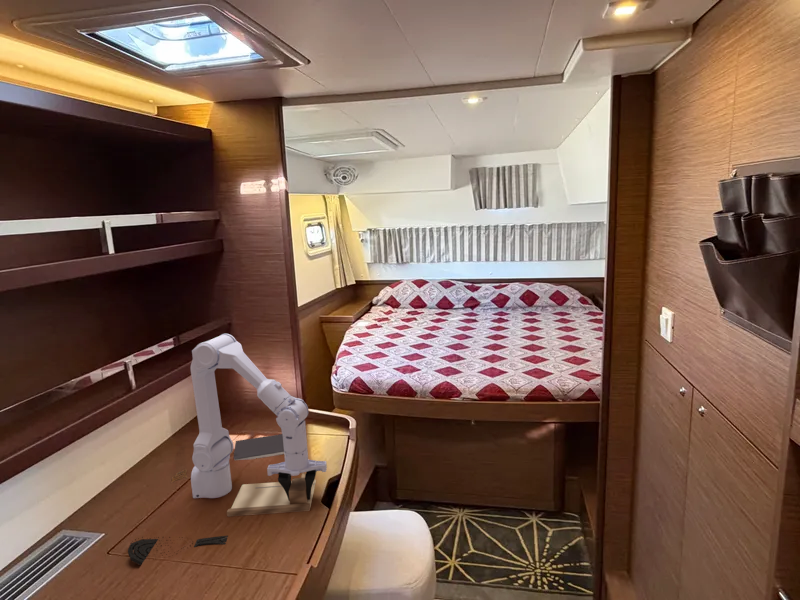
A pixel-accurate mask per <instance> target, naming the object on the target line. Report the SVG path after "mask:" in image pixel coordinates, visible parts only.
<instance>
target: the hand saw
mask: <svg viewBox="0 0 800 600" xmlns="http://www.w3.org/2000/svg"><path fill="white" fill-rule="evenodd" d="M184 469H185V470H184ZM184 469H182V471H177V472H176V473H175V474H176V475H173V476H172V477H171V482H170V484H172V483H174V482H175V481H180V480H182V479H188V476H187V473H186V472H187V471H188V470H187V468H184ZM182 474H183V475H182ZM184 477H185V478H184Z"/></svg>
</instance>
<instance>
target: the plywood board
mask: <svg viewBox="0 0 800 600" xmlns="http://www.w3.org/2000/svg"><path fill="white" fill-rule="evenodd" d="M316 481H317V479H314V482H313V484H312V487H311V497H310V500H308V502H307V503H305V504H290V501H289V500H288V497H287V494H286V492H285V490H284V488H283V487H282V485H281V484H280V483H279V482H278V481H276V482H275V481H273V482H260V483H258V482H257V483H248V484H247V483H246V484H244V483H243V484H242V485H241V487H240V489H239V491H238V492H237V495H236V497H235V499H234V501H233V503H232V506H231V508H228V509H227V511H226V516H227V517H238V516H239V517H240V516H252V515H253V516H254V515H255V516H256V515H266V514H269V515H270V514H281V513H283V514H284V513H292V512H293V513H294V512H296V513H297V512H309V511H310V510H311V506H312V502H313V501H312V500H313V496H314V492H315V488H316V483H317V482H316ZM291 482H292V480H291Z"/></svg>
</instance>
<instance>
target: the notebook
mask: <svg viewBox="0 0 800 600" xmlns="http://www.w3.org/2000/svg"><path fill="white" fill-rule="evenodd" d="M234 445H235V446H234V449H233V459H234V461H242V460H243V461H244V460H245V461H246V460H255V459H256V458H257V459H262V458H270V457H273V456H274V457H275V456H281V455H284V445H283V434H282V433H280V434H274V435H268V436H260V437H252V438H248V439H247V438H245V439H241V440H235V444H234Z"/></svg>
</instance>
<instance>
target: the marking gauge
mask: <svg viewBox="0 0 800 600" xmlns="http://www.w3.org/2000/svg"><path fill="white" fill-rule="evenodd" d="M305 475H306V472H303V473H301V477H296V478H295V477H294V478H291V481H292V482H291V486H290V489H289V500H290V504H305V503H307V502H308V500H307V488H306V482H305Z"/></svg>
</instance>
